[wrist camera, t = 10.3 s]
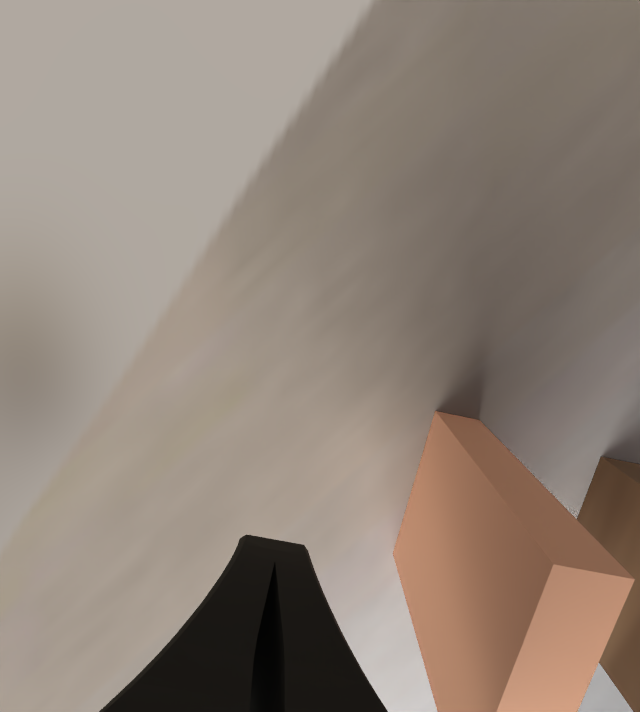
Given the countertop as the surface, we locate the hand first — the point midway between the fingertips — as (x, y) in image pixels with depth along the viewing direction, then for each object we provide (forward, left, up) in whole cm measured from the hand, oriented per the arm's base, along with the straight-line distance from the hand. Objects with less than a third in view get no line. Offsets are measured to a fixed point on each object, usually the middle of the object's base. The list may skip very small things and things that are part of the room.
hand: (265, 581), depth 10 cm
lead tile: (-3, -4, -5) cm, 7 cm away
